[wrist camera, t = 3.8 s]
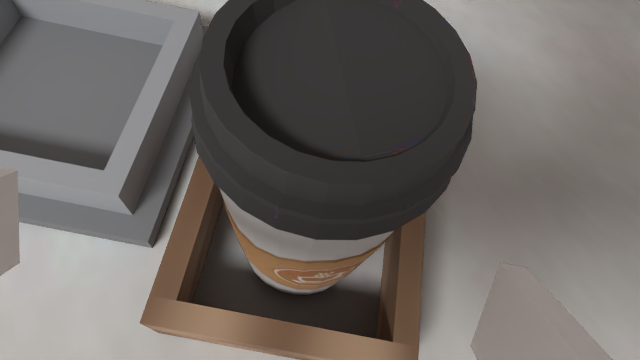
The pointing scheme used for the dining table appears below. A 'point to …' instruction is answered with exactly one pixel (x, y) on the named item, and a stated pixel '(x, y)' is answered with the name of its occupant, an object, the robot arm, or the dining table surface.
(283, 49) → the coffee cup
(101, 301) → the dining table surface
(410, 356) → the walnut holder
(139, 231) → the dock pad
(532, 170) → the dining table surface
